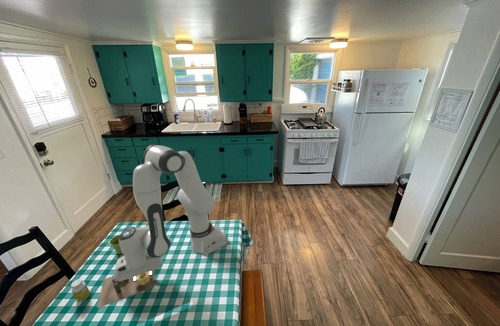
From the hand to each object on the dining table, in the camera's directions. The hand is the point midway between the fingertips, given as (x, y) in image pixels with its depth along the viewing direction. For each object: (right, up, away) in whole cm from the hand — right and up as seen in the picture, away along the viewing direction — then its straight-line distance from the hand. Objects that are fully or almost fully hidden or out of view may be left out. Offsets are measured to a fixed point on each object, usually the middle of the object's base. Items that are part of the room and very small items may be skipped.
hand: (143, 278), depth 103 cm
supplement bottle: (-27, -7, -4) cm, 28 cm away
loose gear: (0, -1, 0) cm, 1 cm away
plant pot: (-25, +4, +22) cm, 34 cm away
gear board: (-8, -4, +1) cm, 9 cm away
